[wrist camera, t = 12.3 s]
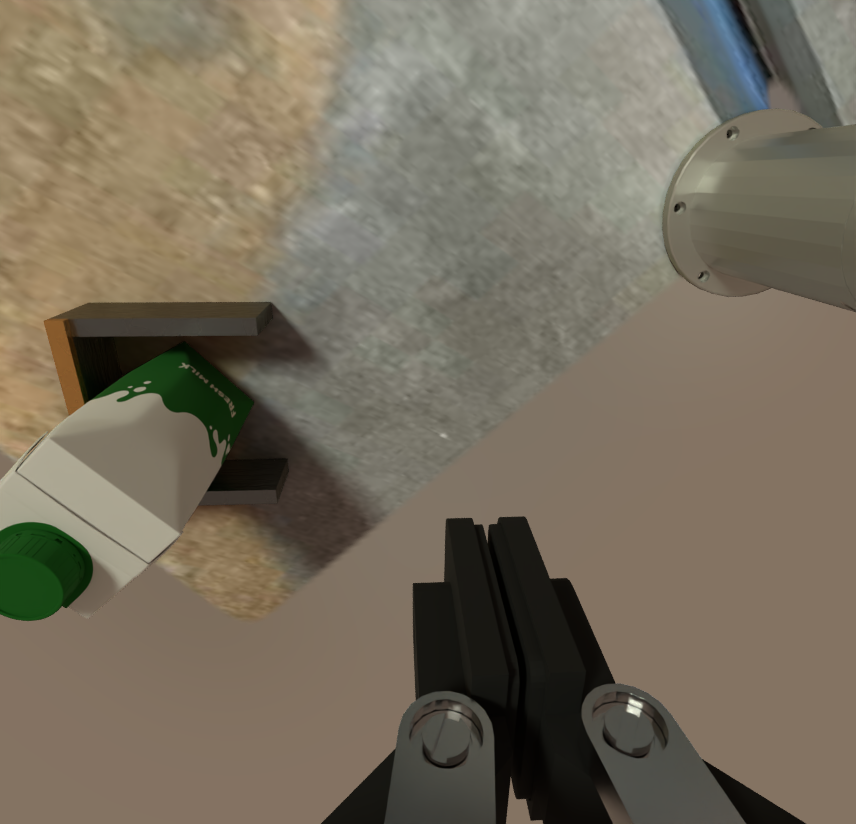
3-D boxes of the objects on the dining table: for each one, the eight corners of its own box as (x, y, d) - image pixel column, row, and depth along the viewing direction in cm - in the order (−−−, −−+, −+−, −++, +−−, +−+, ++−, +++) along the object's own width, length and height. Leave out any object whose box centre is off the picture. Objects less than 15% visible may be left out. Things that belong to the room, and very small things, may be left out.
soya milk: (109, 399, 43) (-101, 563, 25) (184, 322, 41) (15, 439, 23) (199, 470, 46) (70, 664, 28) (272, 401, 44) (186, 561, 26)
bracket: (271, 302, 41) (253, 319, 36) (288, 471, 46) (275, 507, 41) (88, 302, 40) (43, 321, 35) (128, 474, 46) (95, 512, 41)
